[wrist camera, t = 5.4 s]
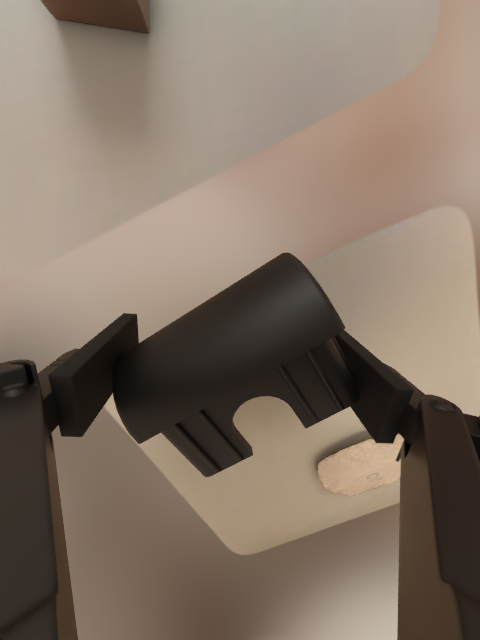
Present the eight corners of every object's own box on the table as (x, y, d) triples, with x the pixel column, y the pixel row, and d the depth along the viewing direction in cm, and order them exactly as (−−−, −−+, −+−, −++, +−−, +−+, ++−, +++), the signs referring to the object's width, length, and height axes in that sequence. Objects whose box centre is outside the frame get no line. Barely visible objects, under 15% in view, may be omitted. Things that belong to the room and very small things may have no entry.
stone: (306, 451, 25) (313, 469, 23) (438, 399, 24) (457, 414, 22) (329, 497, 28) (337, 516, 26) (448, 453, 26) (466, 470, 25)
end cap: (274, 245, 14) (312, 256, 8) (324, 337, 17) (384, 402, 10) (141, 330, 16) (83, 397, 9) (203, 404, 18) (191, 498, 12)
